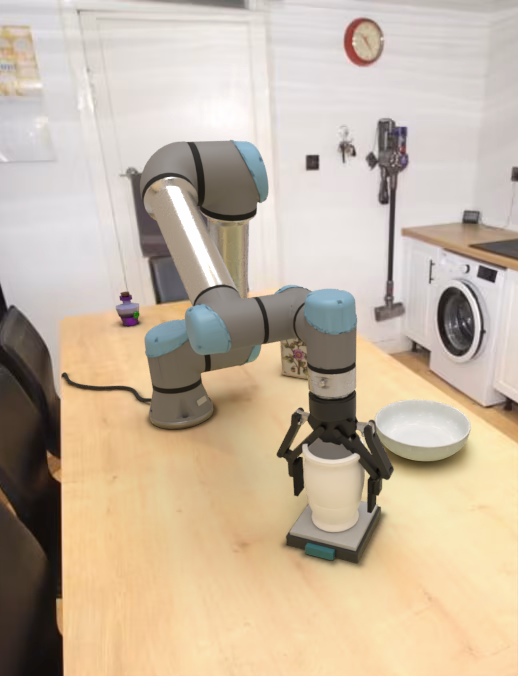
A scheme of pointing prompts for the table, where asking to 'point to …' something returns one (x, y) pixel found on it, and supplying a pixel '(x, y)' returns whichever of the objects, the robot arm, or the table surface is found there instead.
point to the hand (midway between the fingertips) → (334, 499)
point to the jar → (333, 485)
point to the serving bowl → (422, 429)
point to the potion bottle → (128, 310)
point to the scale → (334, 536)
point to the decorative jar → (294, 358)
